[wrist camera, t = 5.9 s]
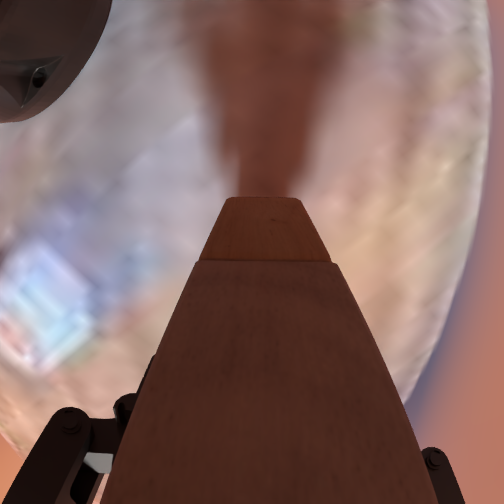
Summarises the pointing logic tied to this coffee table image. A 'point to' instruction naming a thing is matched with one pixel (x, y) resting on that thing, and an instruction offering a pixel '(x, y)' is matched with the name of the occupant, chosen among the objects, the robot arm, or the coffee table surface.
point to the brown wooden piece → (268, 382)
